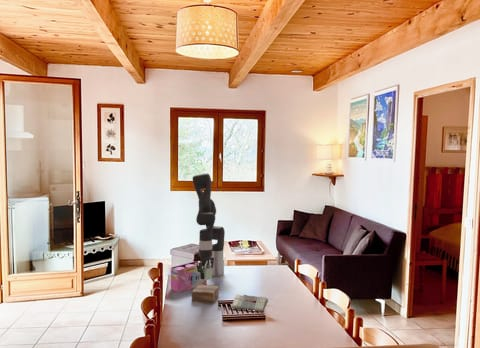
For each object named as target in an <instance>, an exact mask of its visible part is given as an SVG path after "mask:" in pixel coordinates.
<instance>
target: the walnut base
mask: <svg viewBox="0 0 480 348" xmlns="http://www.w3.org/2000/svg"><path fill="white" fill-rule="evenodd" d="M219 287H220V286H218V285H208V284H204V285H198V286H197V287H194V288H193V290H192V291H191V303H198V304H199V303H201V304H210V305H213V304H214V303H215V301H216V300H217V299H218V297H219V290H220V289H219Z"/></svg>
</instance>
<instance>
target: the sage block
mask: <svg viewBox="0 0 480 348" xmlns="http://www.w3.org/2000/svg"><path fill="white" fill-rule="evenodd" d="M199 270H200V269H199ZM202 270H203V268H202ZM212 278H213V276H212V268H211V267H206V269H204V279H202V280H207V281H208V280H211V279H212ZM199 279H201V278H200V272H199Z"/></svg>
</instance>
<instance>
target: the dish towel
mask: <svg viewBox="0 0 480 348" xmlns="http://www.w3.org/2000/svg"><path fill="white" fill-rule="evenodd" d="M246 300H256V303H253V302H250V301H248V302H246ZM268 300H269V299H268V298H267V297H264V296H257V295H256V296H255V295H247V294H243V295H241V294H236V295H235V297H234V300H233V302H232V303H231V306H230V309H231V308H237V309H248V310H255V311H261V312H260V313H264V311H265V309H266V306H267V303H268Z"/></svg>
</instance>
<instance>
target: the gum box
mask: <svg viewBox="0 0 480 348" xmlns="http://www.w3.org/2000/svg"><path fill="white" fill-rule="evenodd" d="M199 261H200V260H194V261H193V262H188V263H184V264H180V265H176V266H171V267H170V290H171V291H173V292H176V293H182V292H185V291H188V290H191V289H195V288H196V287H197V286H198V285H208V280H202V279H199V272H198V271H197V264H196V263H197V262H199ZM202 267H204V266H202Z"/></svg>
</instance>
